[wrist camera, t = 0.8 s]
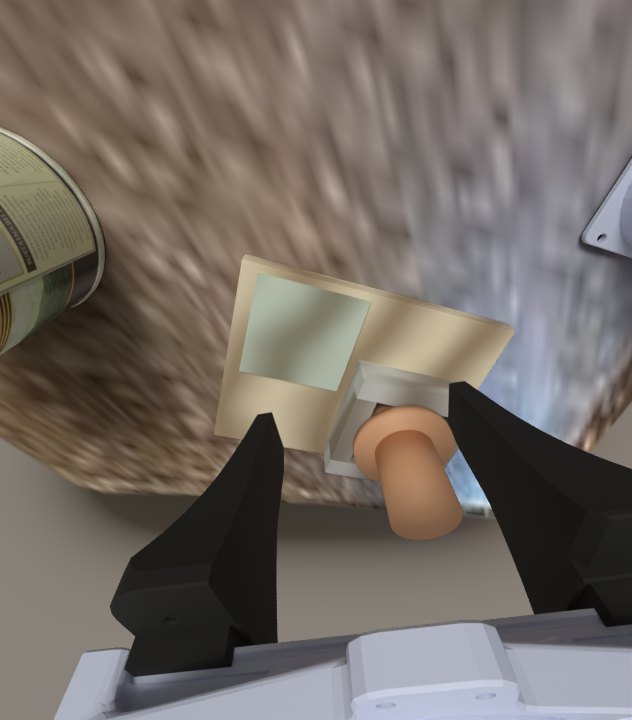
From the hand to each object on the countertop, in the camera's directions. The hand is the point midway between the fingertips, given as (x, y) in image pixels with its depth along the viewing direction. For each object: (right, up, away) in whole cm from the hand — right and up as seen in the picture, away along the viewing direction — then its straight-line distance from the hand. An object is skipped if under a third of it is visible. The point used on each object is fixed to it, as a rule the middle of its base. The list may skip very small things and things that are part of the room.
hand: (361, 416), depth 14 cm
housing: (+1, +1, +11) cm, 12 cm away
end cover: (+4, -2, +12) cm, 13 cm away
